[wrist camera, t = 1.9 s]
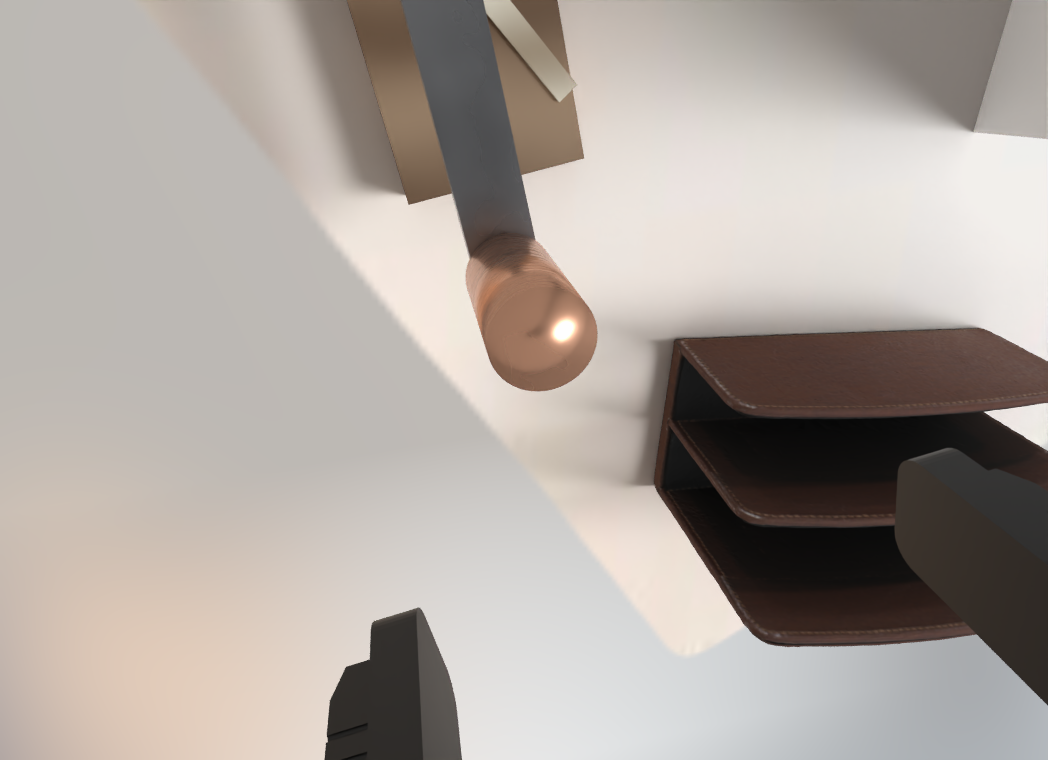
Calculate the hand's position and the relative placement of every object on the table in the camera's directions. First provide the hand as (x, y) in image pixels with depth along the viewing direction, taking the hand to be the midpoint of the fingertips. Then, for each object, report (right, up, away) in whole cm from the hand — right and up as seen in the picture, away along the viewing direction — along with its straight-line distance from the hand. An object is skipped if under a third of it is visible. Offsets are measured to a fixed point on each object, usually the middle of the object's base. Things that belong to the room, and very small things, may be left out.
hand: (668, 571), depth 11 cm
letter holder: (+15, +2, +30) cm, 34 cm away
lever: (-5, +13, +12) cm, 18 cm away
